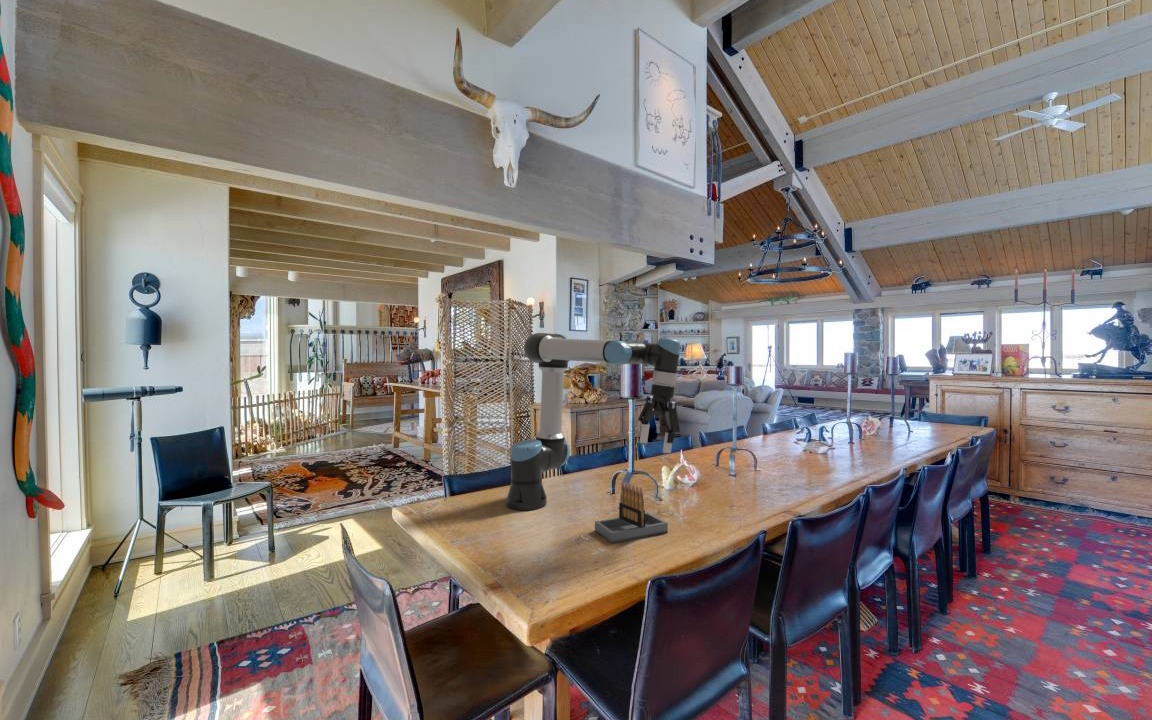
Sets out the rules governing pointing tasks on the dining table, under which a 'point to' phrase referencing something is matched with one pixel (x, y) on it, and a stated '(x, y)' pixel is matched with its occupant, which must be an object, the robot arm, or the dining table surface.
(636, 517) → the ammunition clip
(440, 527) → the dining table surface
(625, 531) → the tray
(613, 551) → the dining table surface
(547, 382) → the robot arm
